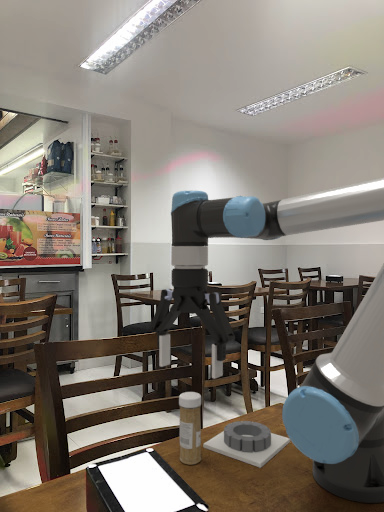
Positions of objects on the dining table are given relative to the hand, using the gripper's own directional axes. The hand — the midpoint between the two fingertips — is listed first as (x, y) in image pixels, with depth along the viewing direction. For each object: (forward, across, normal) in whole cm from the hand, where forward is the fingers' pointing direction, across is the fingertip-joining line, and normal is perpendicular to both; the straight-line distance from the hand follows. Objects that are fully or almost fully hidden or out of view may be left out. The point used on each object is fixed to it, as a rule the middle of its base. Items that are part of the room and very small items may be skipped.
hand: (189, 370), depth 84 cm
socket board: (+18, -6, -13) cm, 23 cm away
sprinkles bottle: (+19, 0, 0) cm, 19 cm away
